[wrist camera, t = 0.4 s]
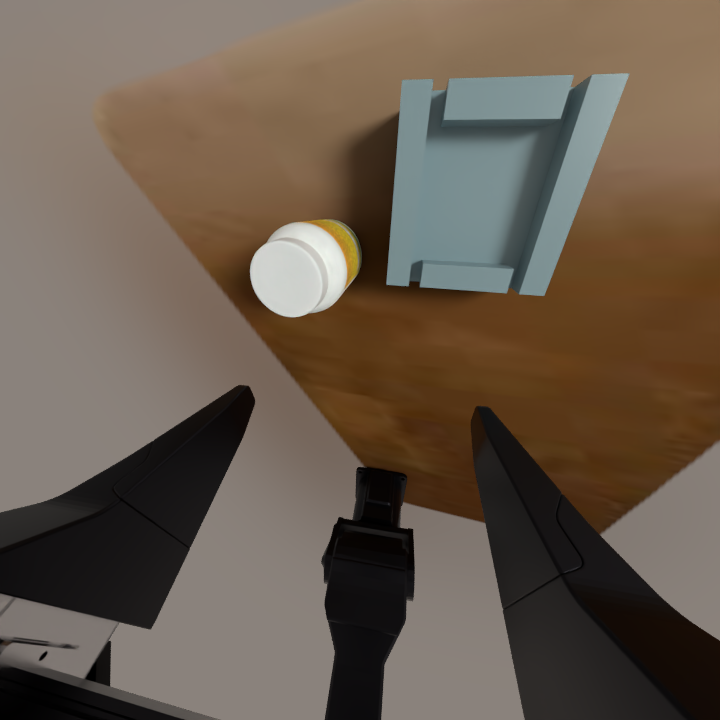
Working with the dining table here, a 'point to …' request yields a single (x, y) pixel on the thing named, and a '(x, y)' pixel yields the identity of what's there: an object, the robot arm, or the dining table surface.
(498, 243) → the teal tray
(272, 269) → the supplement bottle
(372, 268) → the dining table surface
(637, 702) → the robot arm
